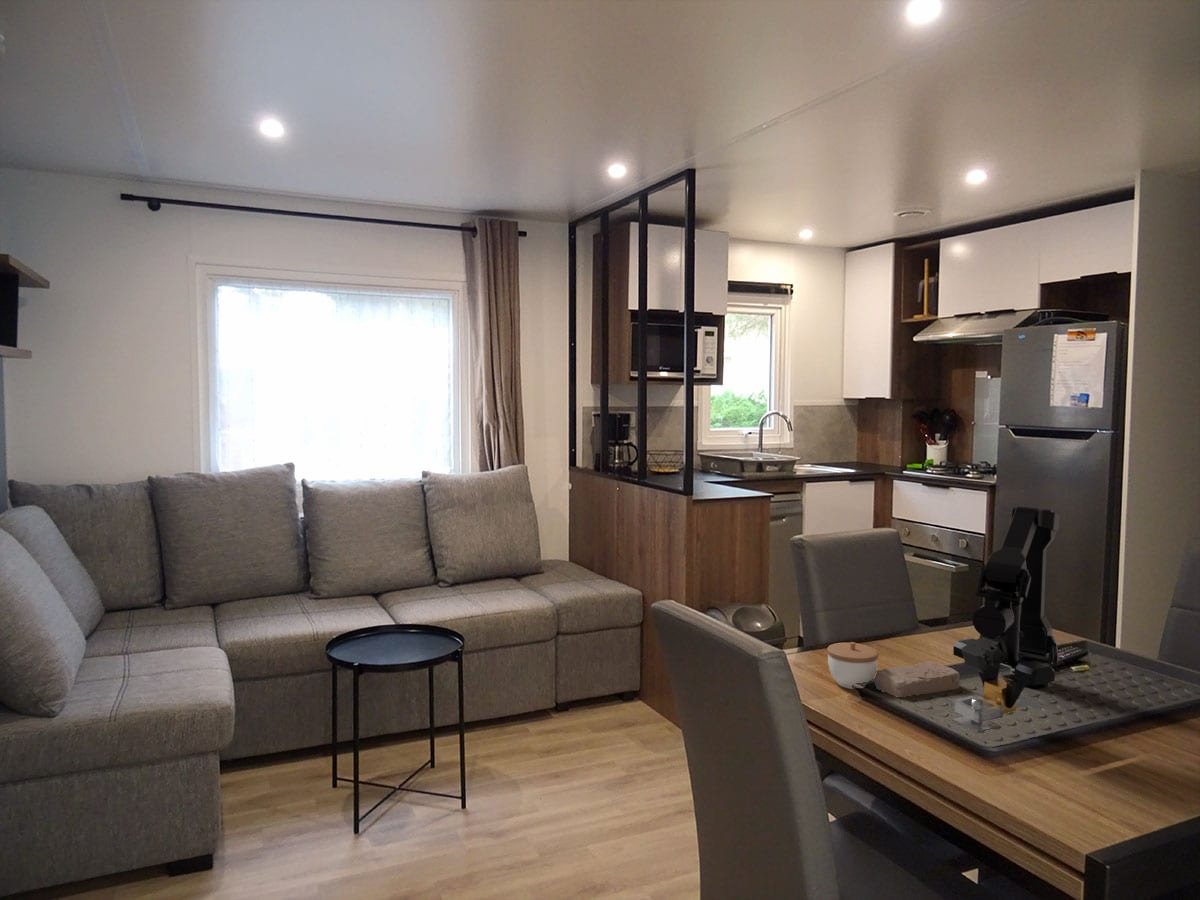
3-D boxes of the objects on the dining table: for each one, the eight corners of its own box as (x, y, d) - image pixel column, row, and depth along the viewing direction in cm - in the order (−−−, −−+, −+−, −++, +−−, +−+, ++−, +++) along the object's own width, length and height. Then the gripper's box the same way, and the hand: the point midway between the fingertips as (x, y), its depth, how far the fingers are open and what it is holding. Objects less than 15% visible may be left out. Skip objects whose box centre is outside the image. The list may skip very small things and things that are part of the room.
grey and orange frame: (1002, 698, 160) (1003, 674, 159) (1030, 710, 154) (1032, 685, 153) (951, 710, 154) (951, 684, 154) (978, 722, 148) (979, 696, 148)
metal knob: (974, 717, 157) (975, 692, 156) (1000, 729, 151) (1001, 703, 151) (952, 722, 154) (952, 696, 154) (977, 735, 149) (978, 708, 148)
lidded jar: (819, 676, 181) (820, 635, 180) (865, 674, 182) (866, 634, 181) (837, 694, 170) (838, 651, 170) (885, 692, 171) (887, 650, 171)
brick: (898, 703, 166) (899, 681, 166) (872, 688, 174) (872, 667, 174) (960, 693, 172) (961, 672, 172) (932, 679, 180) (933, 659, 179)
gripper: (933, 617, 159) (931, 692, 160) (1014, 644, 142) (1011, 729, 143) (974, 610, 163) (972, 684, 165) (1058, 637, 146) (1054, 719, 147)
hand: (999, 703), depth 155 cm, fingers closed on grey and orange frame, 4 cm apart
